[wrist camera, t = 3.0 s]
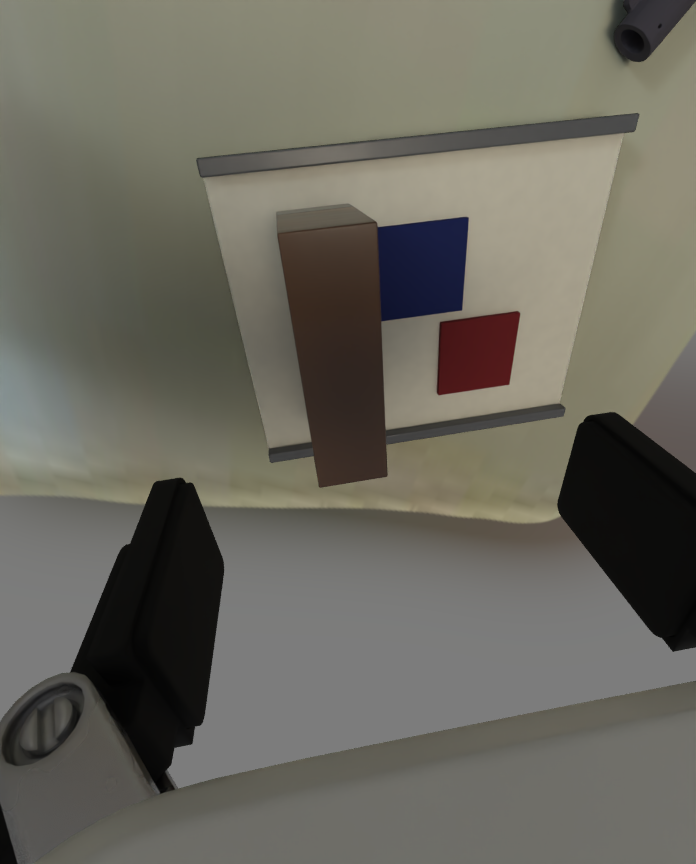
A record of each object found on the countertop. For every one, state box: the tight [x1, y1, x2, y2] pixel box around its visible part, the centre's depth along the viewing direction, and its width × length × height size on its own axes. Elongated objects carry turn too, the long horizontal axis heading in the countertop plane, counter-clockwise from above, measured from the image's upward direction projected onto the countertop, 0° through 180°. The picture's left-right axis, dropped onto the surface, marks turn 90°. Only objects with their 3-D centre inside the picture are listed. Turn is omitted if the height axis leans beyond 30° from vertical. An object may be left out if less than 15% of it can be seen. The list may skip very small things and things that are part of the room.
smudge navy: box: [378, 217, 469, 321], centre depth 19 cm, size 4×4×1 cm
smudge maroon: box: [437, 311, 520, 395], centre depth 21 cm, size 4×4×1 cm
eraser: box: [276, 204, 387, 488], centre depth 17 cm, size 3×10×6 cm, turn 5°
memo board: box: [196, 113, 639, 463], centre depth 20 cm, size 17×14×2 cm
